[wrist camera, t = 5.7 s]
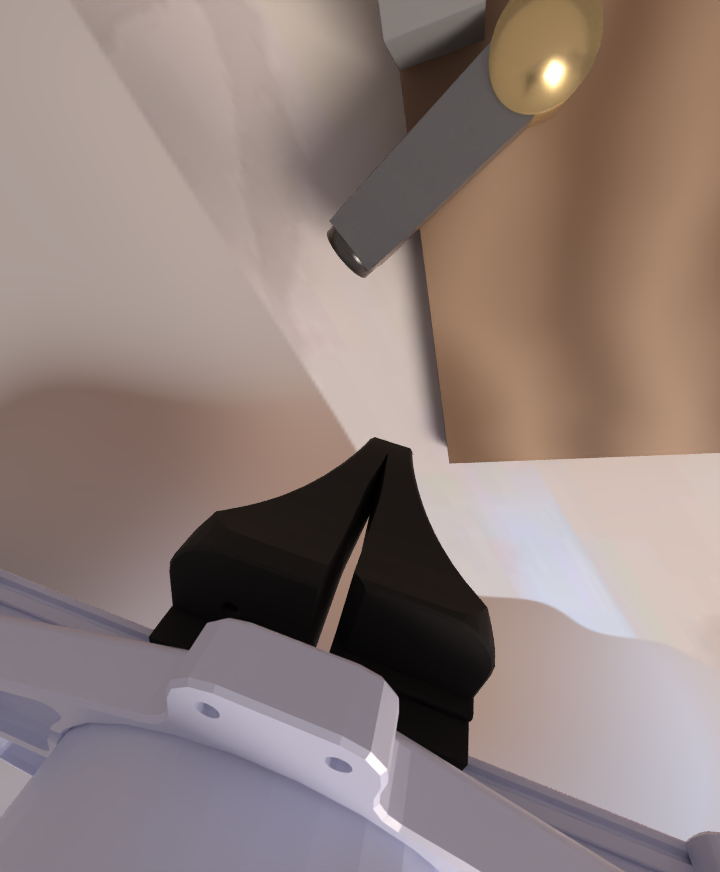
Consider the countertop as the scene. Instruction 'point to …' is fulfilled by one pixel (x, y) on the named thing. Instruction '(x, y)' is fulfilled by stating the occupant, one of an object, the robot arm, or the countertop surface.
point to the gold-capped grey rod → (471, 125)
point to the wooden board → (587, 254)
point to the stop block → (429, 28)
